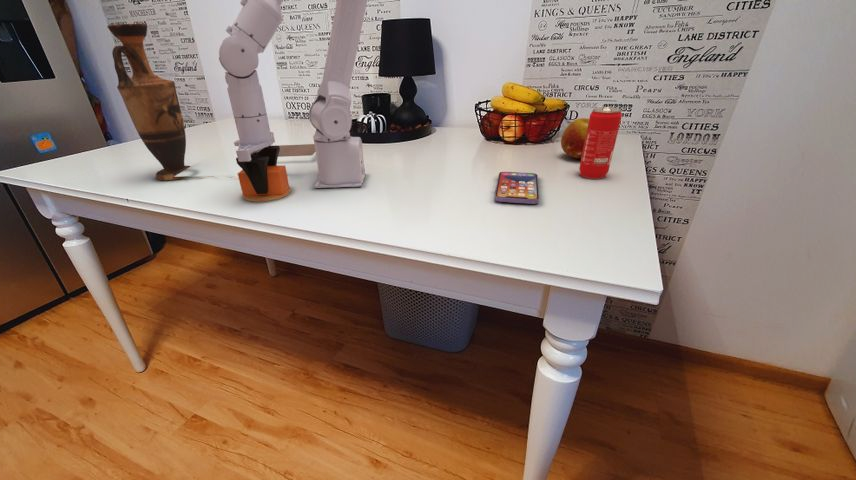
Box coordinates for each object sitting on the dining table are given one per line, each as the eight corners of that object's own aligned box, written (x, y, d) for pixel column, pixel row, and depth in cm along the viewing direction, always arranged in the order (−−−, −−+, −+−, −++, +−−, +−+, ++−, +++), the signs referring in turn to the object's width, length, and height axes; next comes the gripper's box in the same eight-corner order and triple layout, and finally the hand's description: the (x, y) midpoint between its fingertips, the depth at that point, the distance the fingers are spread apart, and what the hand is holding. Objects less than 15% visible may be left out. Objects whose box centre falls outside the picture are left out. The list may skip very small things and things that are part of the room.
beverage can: (578, 178, 77) (591, 111, 71) (578, 170, 81) (590, 107, 75) (607, 180, 75) (624, 112, 69) (606, 172, 79) (622, 107, 73)
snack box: (289, 187, 80) (285, 165, 78) (283, 195, 77) (278, 172, 74) (251, 188, 81) (245, 166, 79) (243, 196, 77) (237, 173, 75)
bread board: (322, 149, 108) (322, 143, 108) (313, 161, 98) (312, 155, 97) (265, 151, 110) (264, 146, 109) (250, 163, 99) (248, 157, 99)
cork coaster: (295, 185, 82) (295, 183, 82) (283, 201, 75) (283, 199, 75) (253, 187, 83) (253, 185, 83) (237, 202, 76) (236, 200, 75)
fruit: (603, 164, 84) (613, 124, 80) (557, 162, 87) (564, 123, 82) (601, 152, 91) (609, 115, 87) (558, 151, 94) (564, 115, 90)
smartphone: (537, 177, 79) (538, 205, 66) (498, 175, 80) (493, 202, 68) (537, 173, 78) (539, 200, 66) (499, 171, 80) (494, 197, 68)
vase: (188, 166, 100) (144, 25, 85) (209, 173, 94) (165, 22, 78) (143, 177, 94) (86, 26, 78) (163, 185, 87) (104, 23, 72)
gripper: (243, 109, 78) (259, 178, 85) (211, 123, 66) (232, 202, 73) (278, 107, 77) (291, 176, 84) (252, 122, 65) (270, 201, 72)
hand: (266, 188), depth 78 cm, fingers closed on snack box, 4 cm apart
